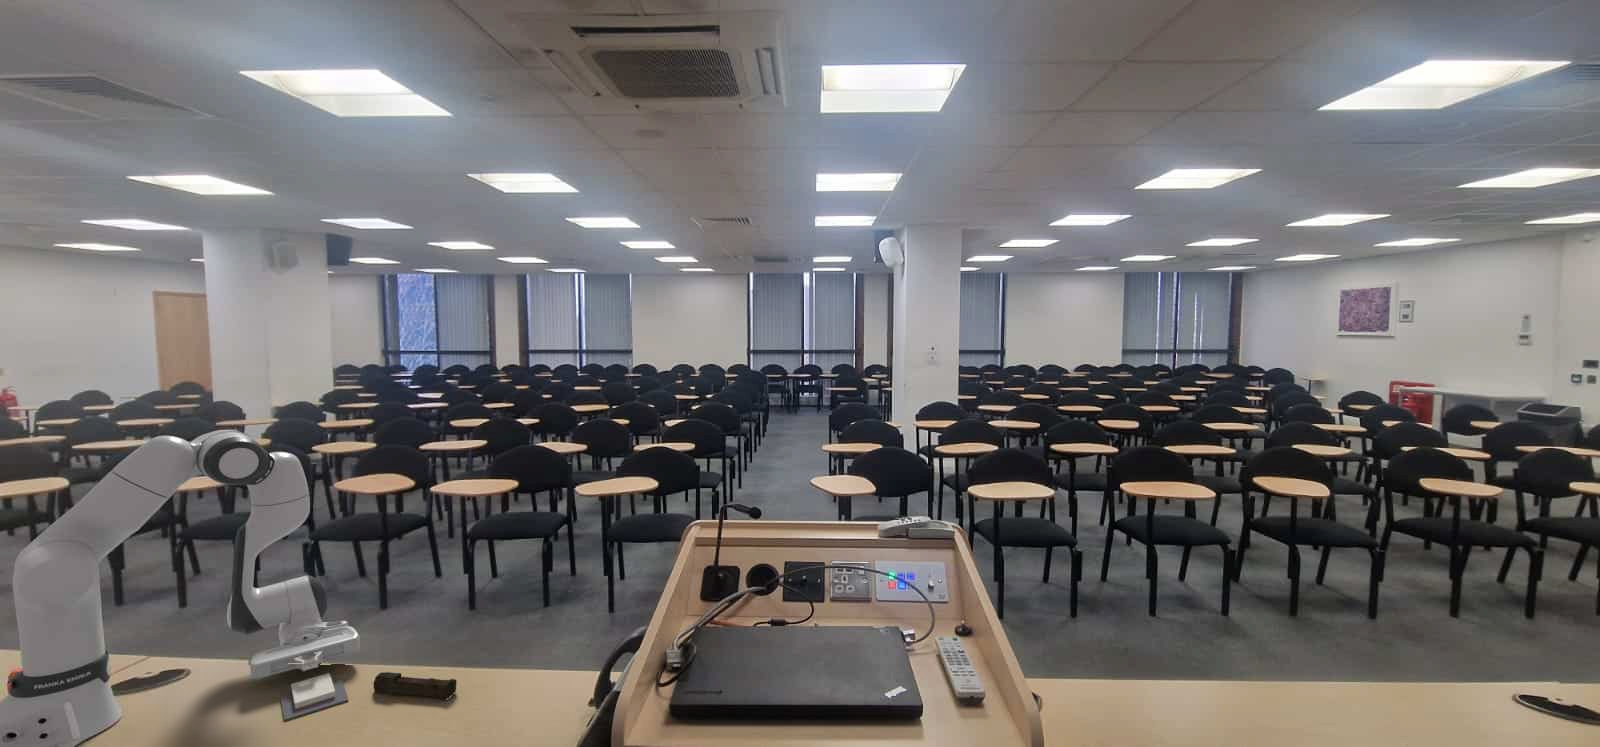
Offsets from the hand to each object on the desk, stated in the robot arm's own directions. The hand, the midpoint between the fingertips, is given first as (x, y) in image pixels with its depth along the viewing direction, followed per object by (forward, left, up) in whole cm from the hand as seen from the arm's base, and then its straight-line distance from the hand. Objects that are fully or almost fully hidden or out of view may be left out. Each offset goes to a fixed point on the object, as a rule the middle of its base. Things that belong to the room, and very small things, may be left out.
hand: (310, 666), depth 146 cm
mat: (0, -5, -6) cm, 8 cm away
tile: (0, +2, -4) cm, 5 cm away
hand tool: (+16, -18, -6) cm, 25 cm away
